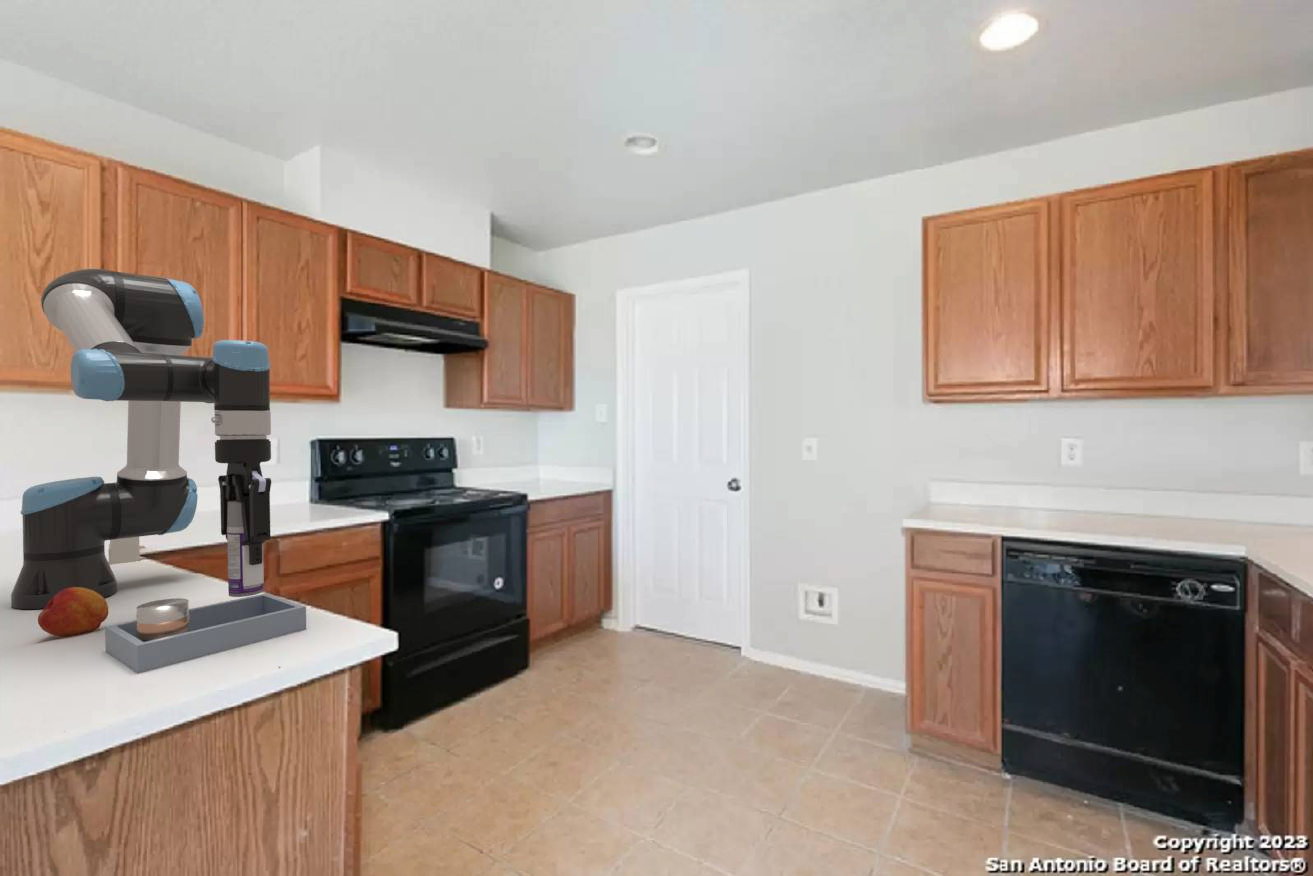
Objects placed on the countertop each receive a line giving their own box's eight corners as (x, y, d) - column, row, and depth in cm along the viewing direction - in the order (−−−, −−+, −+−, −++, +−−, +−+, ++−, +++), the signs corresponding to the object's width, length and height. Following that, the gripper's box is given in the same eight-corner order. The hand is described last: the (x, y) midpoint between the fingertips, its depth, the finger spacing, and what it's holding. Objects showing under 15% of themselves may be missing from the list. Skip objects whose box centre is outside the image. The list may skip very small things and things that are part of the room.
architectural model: (108, 564, 155) (107, 534, 155) (144, 560, 160) (143, 531, 160) (109, 566, 153) (108, 536, 153) (146, 562, 158) (145, 532, 158)
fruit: (49, 633, 103) (48, 584, 103) (113, 625, 107) (112, 578, 107) (32, 647, 97) (31, 596, 96) (101, 638, 101) (100, 589, 100)
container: (265, 588, 105) (263, 498, 104) (260, 595, 100) (258, 501, 100) (232, 591, 103) (230, 499, 102) (225, 598, 98) (223, 503, 98)
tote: (105, 656, 93) (105, 626, 93) (267, 618, 111) (266, 593, 111) (137, 679, 85) (137, 645, 84) (306, 633, 103) (306, 606, 102)
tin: (131, 653, 92) (130, 605, 92) (181, 641, 97) (180, 596, 97) (145, 662, 88) (144, 612, 88) (196, 649, 93) (195, 602, 93)
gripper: (194, 437, 103) (197, 579, 103) (241, 438, 93) (244, 595, 93) (245, 436, 109) (247, 570, 110) (294, 437, 99) (296, 585, 99)
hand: (246, 581), depth 101 cm, fingers closed on container, 5 cm apart
